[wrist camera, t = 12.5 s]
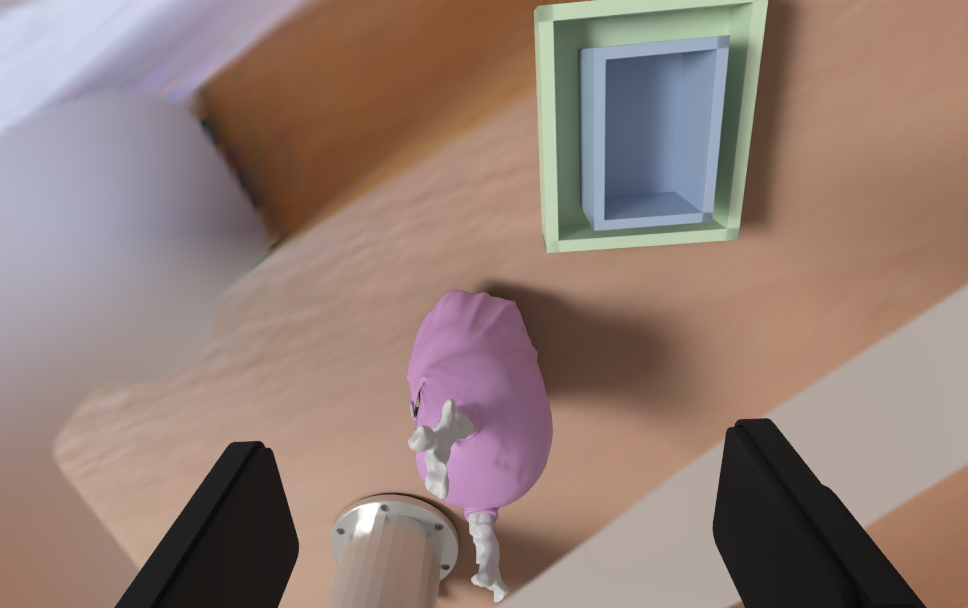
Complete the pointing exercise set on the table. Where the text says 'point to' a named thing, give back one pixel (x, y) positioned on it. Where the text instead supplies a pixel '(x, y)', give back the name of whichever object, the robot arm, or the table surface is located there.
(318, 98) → the table surface
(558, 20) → the green tray
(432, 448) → the toy character
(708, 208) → the small crate
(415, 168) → the table surface
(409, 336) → the table surface
